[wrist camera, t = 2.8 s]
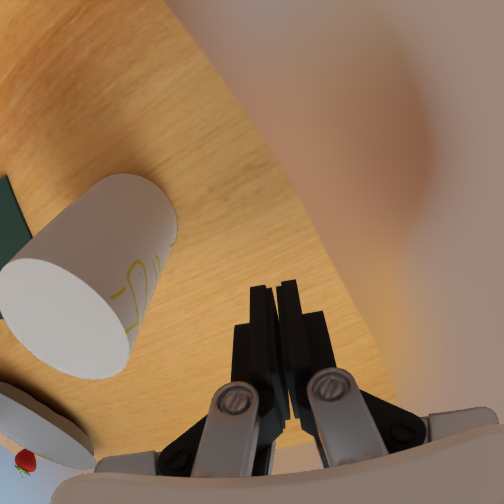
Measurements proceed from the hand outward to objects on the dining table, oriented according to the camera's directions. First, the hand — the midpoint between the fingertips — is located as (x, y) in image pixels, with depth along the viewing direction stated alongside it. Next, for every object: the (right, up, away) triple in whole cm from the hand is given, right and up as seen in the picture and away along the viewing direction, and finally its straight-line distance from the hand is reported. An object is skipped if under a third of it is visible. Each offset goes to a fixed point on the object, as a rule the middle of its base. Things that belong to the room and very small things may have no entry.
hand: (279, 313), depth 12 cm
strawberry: (-58, -48, +43) cm, 87 cm away
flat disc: (-42, -28, +32) cm, 59 cm away
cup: (-11, +5, +12) cm, 17 cm away
